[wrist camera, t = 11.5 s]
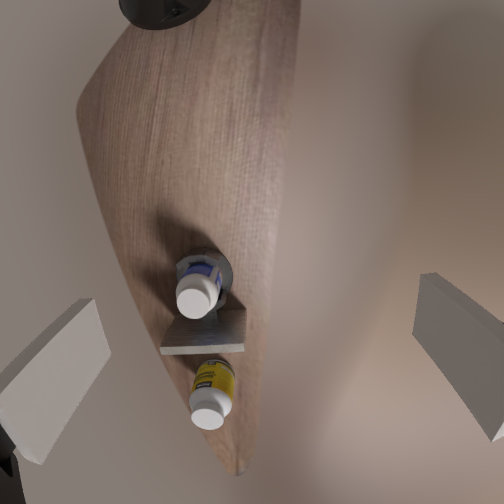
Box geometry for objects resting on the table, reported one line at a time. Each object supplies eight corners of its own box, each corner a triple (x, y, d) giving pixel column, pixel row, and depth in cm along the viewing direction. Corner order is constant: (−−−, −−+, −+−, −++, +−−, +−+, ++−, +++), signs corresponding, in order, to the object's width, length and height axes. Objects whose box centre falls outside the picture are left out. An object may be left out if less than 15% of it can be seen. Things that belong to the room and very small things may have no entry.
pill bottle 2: (226, 353, 49) (218, 400, 38) (240, 381, 50) (237, 429, 39) (191, 362, 50) (176, 408, 38) (207, 389, 51) (197, 436, 40)
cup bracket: (164, 251, 44) (141, 273, 35) (238, 244, 44) (233, 265, 34) (178, 320, 47) (161, 354, 38) (247, 315, 47) (244, 351, 37)
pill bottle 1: (179, 275, 45) (160, 302, 35) (204, 250, 44) (190, 273, 34) (205, 300, 46) (193, 332, 36) (230, 277, 45) (224, 306, 35)
